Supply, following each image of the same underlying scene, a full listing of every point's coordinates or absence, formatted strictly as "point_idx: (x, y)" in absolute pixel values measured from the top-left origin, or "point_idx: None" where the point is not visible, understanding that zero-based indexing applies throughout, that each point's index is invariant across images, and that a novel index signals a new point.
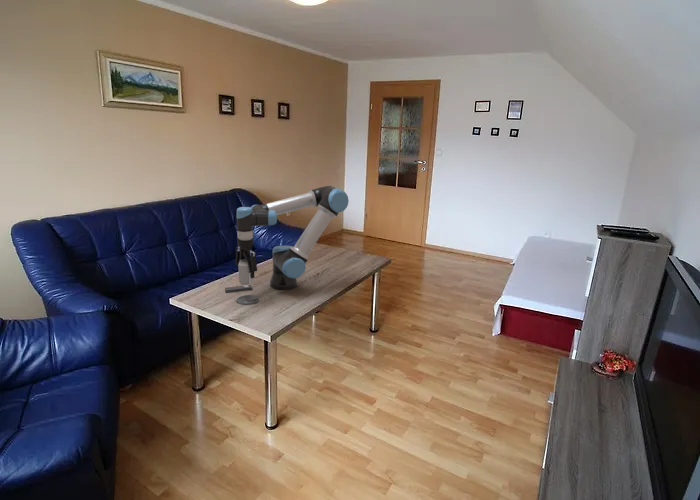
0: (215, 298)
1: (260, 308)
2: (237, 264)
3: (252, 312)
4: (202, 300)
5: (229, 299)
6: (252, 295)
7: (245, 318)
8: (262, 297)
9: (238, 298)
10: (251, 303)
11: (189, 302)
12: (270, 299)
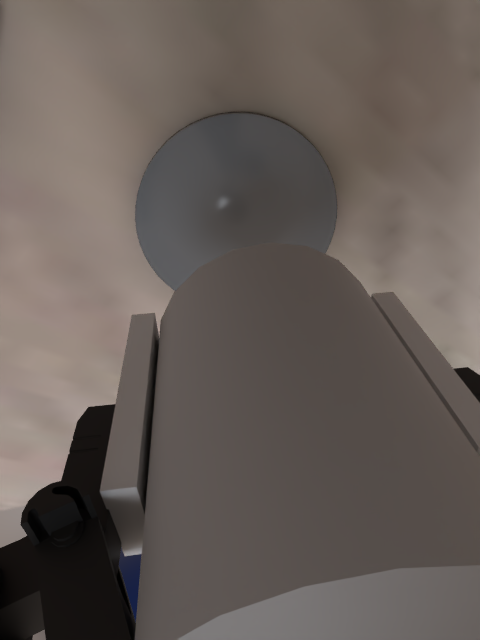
0: (44, 378)
1: (445, 228)
2: (30, 621)
3: (437, 304)
4: (35, 439)
5: (123, 318)
6: (191, 136)
7: (454, 368)
8: (285, 58)
9: (172, 275)
10: (329, 241)
11: (28, 487)
12: (395, 18)
